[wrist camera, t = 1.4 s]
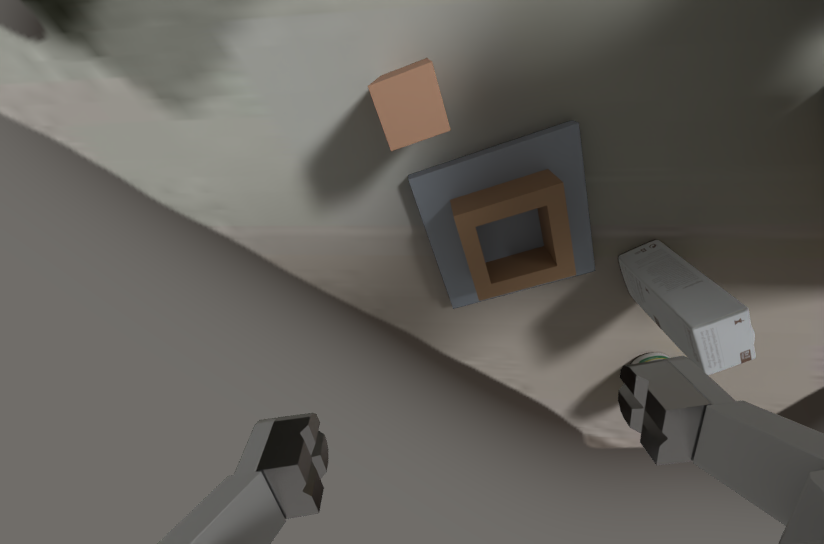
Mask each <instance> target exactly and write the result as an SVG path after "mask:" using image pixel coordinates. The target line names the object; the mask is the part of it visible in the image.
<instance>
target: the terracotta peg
mask: <svg viewBox="0 0 824 544" xmlns="http://www.w3.org/2000/svg"><path fill="white" fill-rule="evenodd" d="M368 88H369V91H370V94H371V96H372V99H373V102H374V105H375V108H376V110H377V113H378V116H379V119H380V122H381V124H382V127H383V130H384V133H385V136H386V138H387V141H388V144H389V147H390V150H391V151H393V150H396V149H399V148H402V147H405V146H408V145H410V144H413V143H416V142H419V141H422V140H425V139H428V138H431V137H433V136H436V135H439V134H442V133H445V132H448V131H451V129H450V126H449V122H448V118H447V115H446V111H445V107H444V104H443V100H442V96H441V93H440V89H439V85H438V82H437V78H436V75H435V71H434V67H433V64H432V61H430V60H429V59H428V58H426V59H423V60H420V61H418V62H415V63H413V64H410V65H408V66H405V67H402V68H400V69H397V70H395V71H392V72H389V73H387V74H384V75H382V76H380V77H379V78H377V79H376V80H375V81H374V82H372V83H371V84H370V85H369V86H368Z"/></svg>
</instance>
